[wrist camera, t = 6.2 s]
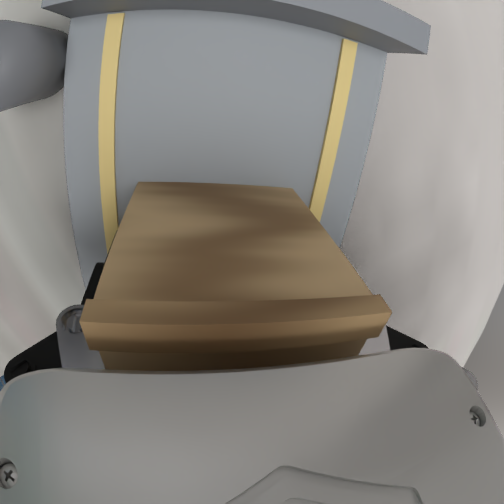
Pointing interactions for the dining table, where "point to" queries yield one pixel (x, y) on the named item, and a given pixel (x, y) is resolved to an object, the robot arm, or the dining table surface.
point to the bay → (208, 97)
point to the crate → (226, 284)
